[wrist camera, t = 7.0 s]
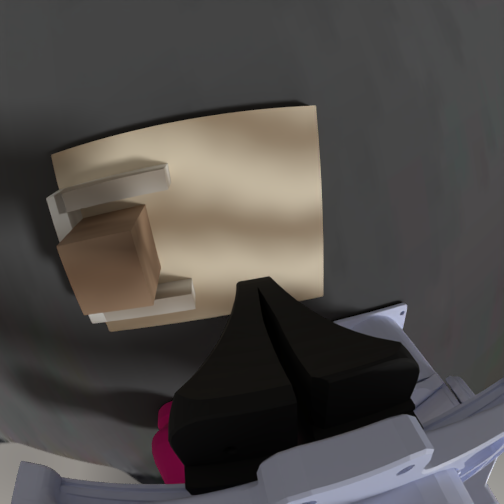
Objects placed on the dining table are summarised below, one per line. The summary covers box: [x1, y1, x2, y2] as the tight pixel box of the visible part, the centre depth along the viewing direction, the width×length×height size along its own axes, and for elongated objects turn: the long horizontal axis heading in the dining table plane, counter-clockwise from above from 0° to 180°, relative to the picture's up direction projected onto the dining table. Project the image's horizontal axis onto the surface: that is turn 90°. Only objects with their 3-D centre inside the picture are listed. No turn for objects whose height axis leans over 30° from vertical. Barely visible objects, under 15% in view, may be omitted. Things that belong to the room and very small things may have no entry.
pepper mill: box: [152, 401, 185, 484], centre depth 20 cm, size 7×7×20 cm
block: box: [56, 205, 161, 315], centre depth 17 cm, size 4×4×4 cm
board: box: [46, 106, 323, 332], centre depth 19 cm, size 14×17×3 cm
